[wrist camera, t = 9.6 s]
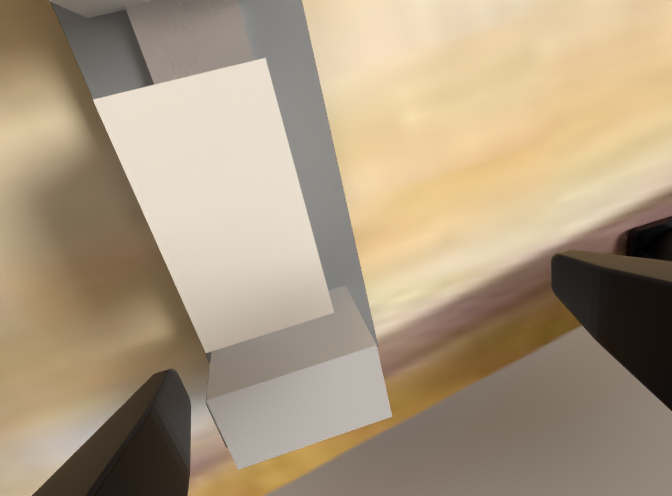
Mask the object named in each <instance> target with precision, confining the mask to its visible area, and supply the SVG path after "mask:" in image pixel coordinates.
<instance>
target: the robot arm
mask: <svg viewBox="0 0 672 496" xmlns="http://www.w3.org/2000/svg"><path fill="white" fill-rule="evenodd" d="M551 286H552V289H553V292H554V293H555V295H556V296H557V297H558V298H559V299H560V301H561V302H562V303H563V304H564V305H565V306H566V307H567V309H568V310H569V311H570V312H571V313H572V314H573V315H574V316H575V318H576V319H577V320H578V321H579V322H580V323H581V324H582V325H583V327H584V328H585V329H586V330H587V331H588V332H589V333H590V334H591V336H592V337H593V338H594V339H595V340H596V341H597V342H598V343H599V344H600V345H601V346H602V347H603V348H604V349H606V351H608V352H609V353H610V354H611V355H612V356H613V357H614V358H615V359H616V360H617V361H618V362H619V363H620V364H622V365H623V366H624V367H625V368H626V369H627V370H628V371H629V372H630V373H631V374H632V375H633V376H634V377H636V378H637V379H638V380H639V381H640V382H641V383H642V384H643V385H644V386H645V387H646V388H647V389H648V390H650V391H651V392H652V393H653V394H654V395H655V396H656V397H657V398H658V399H659V400H660V401H661V402H662V403H664V404H665V405H666V406H667V407H668V408H669V409H670V410H671V411H672V217H670V218H667V219H664V220H661V221H658V222H655V223H651V224H648V225H645V226H642V227H639V228H636V229H634V230H632V231H631V232H630V233H629V235H628V242H627V254H626V256H621V255H613V254H604V253H596V252H587V251H579V250H566V251H563V252H560V253H556V254H554V255H553V257H552V259H551ZM190 443H191V404H190V399H189V396H188V394H187V392H186V390H185V388H184V386H183V383H182V381H181V379H180V377H179V375H178V373H177V372H176V371H175V370H174V369H168V370H165V371H162V372H158V373H155V374H154V375H153V376H152V377H151V378H150V379H149V380H148V381H147V382H146V383H145V384H144V385H143V386H142V387H141V388H140V389H139V390H138V391H136V392H135V393H134V394H133V395H132V396H131V397H130V398H129V399H128V400H127V401H126V402H125V403H124V404H123V405H122V406H121V407H120V408H119V409H118V410H117V411H116V412H115V413H114V414H113V415H112V416H111V417H110V418H109V419H108V420H107V421H106V422H105V423H104V424H103V425H102V426H101V427H100V428H99V429H98V430H97V431H96V432H95V433H94V434H93V435H92V436H91V437H90V438H89V439H88V440H87V441H86V442H85V443H84V444H83V445H82V446H81V447H80V448H79V449H78V450H77V451H76V452H75V453H74V454H73V455H72V456H71V457H70V458H69V459H68V460H67V461H66V462H65V463H64V464H63V465H62V466H61V467H60V468H59V469H58V470H57V471H56V472H55V473H54V474H53V475H52V476H51V477H50V478H49V479H48V480H47V481H46V482H45V483H44V484H43V485H42V486H41V487H40V488H39V489H38V490H37V491H36V492H35V493H34V494H33V495H32V496H187V494H188V487H189V477H190Z"/></svg>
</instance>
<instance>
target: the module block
mask: <svg viewBox="0 0 672 496" xmlns="http://www.w3.org/2000/svg"><path fill="white" fill-rule="evenodd" d="M93 102H94V104H95V106H96V108H97V110H98V113H99V115H100V117H101V119H102V122H103V124H104V126H105V128H106V131H107V133H108V135H109V137H110V140H111V142H112V144H113V146H114V149H115V151H116V153H117V155H118V158H119V160H120V162H121V164H122V167H123V169H124V171H125V173H126V175H127V178H128V180H129V182H130V184H131V187H132V189H133V191H134V193H135V196H136V198H137V200H138V202H139V205H140V207H141V209H142V211H143V214H144V216H145V218H146V220H147V223H148V225H149V227H150V229H151V232H152V234H153V236H154V238H155V241H156V243H157V245H158V247H159V249H160V252H161V254H162V256H163V258H164V261H165V263H166V265H167V267H168V270H169V272H170V274H171V276H172V279H173V281H174V283H175V285H176V288H177V290H178V292H179V294H180V297H181V299H182V301H183V303H184V306H185V308H186V310H187V312H188V314H189V317H190V319H191V321H192V323H193V326H194V328H195V330H196V332H197V335H198V337H199V339H200V341H201V344H202V346H203V348H204V350H205V353H208V352H211V351H215V350H218V349H221V348H224V347H227V346H230V345H234V344H237V343H240V342H243V341H246V340H249V339H253V338H256V337H259V336H262V335H265V334H268V333H272V332H275V331H278V330H281V329H284V328H287V327H291V326H294V325H297V324H300V323H303V322H306V321H310V320H313V319H316V318H319V317H322V316H325V315H329V314H332V313H334V310H333V306H332V302H331V299H330V295H329V291H328V288H327V284H326V280H325V277H324V273H323V269H322V265H321V262H320V258H319V254H318V251H317V247H316V243H315V239H314V236H313V232H312V228H311V225H310V221H309V217H308V214H307V210H306V206H305V202H304V199H303V195H302V191H301V188H300V184H299V180H298V176H297V173H296V169H295V165H294V162H293V158H292V154H291V151H290V147H289V143H288V139H287V136H286V132H285V128H284V125H283V121H282V117H281V113H280V110H279V106H278V102H277V99H276V95H275V91H274V88H273V84H272V80H271V76H270V73H269V69H268V65H267V62H266V58H263V59H258V60H254V61H250V62H246V63H242V64H238V65H234V66H230V67H225V68H221V69H217V70H213V71H209V72H205V73H201V74H197V75H192V76H188V77H184V78H180V79H176V80H172V81H168V82H163V83H159V84H155V85H151V86H147V87H143V88H139V89H135V90H130V91H126V92H122V93H118V94H114V95H110V96H106V97H102V98H97V99H93Z"/></svg>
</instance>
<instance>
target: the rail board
mask: <svg viewBox="0 0 672 496" xmlns="http://www.w3.org/2000/svg"><path fill="white" fill-rule="evenodd" d="M48 1H50V2H51V4H52V7H53V9H54V11H55V13H56V16H57V18H58V20H59V23H60V25H61V27H62V29H63V32H64V34H65V36H66V38H67V41H68V43H69V45H70V47H71V50H72V52H73V54H74V57H75V59H76V61H77V63H78V66H79V68H80V70H81V72H82V75H83V77H84V79H85V82H86V84H87V86H88V88H89V91H90V93H91V95H92V97H93V99H97V98H102V97H106V96H110V95H114V94H118V93H122V92H126V91H130V90H135V89H139V88H143V87H147V86H151V85H155V84H159V83H163V82H168V81H172V80H176V79H180V78H184V77H188V76H192V75H197V74H201V73H205V72H209V71H213V70H217V69H221V68H225V67H230V66H234V65H238V64H242V63H246V62H250V61H254V60H258V59H263V58H266V62H267V65H268V69H269V73H270V76H271V80H272V84H273V88H274V91H275V95H276V99H277V102H278V106H279V110H280V113H281V117H282V121H283V125H284V128H285V132H286V136H287V139H288V143H289V147H290V151H291V154H292V158H293V162H294V165H295V169H296V173H297V176H298V180H299V184H300V188H301V191H302V195H303V199H304V202H305V206H306V210H307V214H308V217H309V221H310V225H311V228H312V232H313V236H314V239H315V243H316V247H317V251H318V254H319V258H320V262H321V265H322V269H323V273H324V277H325V280H326V284H327V288H328V291H329V295H330V299H331V302H332V306H333V310H334V313H332V314H329V315H325V316H322V317H319V318H316V319H313V320H310V321H306V322H303V323H300V324H297V325H294V326H291V327H287V328H284V329H281V330H278V331H275V332H272V333H268V334H265V335H262V336H259V337H256V338H253V339H249V340H246V341H243V342H240V343H237V344H234V345H230V346H227V347H224V348H221V349H218V350H215V351H211V352H208V353H205V354H206V356H207V358H208V361H209V363H210V369H209V378H208V386H207V394H206V405H207V407H208V409H209V411H210V413H211V416H212V418H213V420H214V422H215V424H216V426H217V428H218V430H219V433H220V435H221V437H222V439H223V441H224V443H225V445H226V448H227V447H228V449H229V451H230V453H231V456H232V458H233V460H234V462H235V464H236V466H237V468H238V470H239V469H242V468H245V467H248V466H251V465H254V464H257V463H259V462H262V461H265V460H268V459H271V458H274V457H277V456H280V455H283V454H285V453H288V452H291V451H294V450H297V449H300V448H303V447H306V446H309V445H312V444H314V443H317V442H320V441H323V440H326V439H329V438H332V437H335V436H338V435H340V434H343V433H346V432H349V431H352V430H355V429H358V428H361V427H364V426H366V425H369V424H372V423H375V422H378V421H381V420H384V419H387V418H390V417H392V413H391V408H390V404H389V399H388V395H387V390H386V386H385V381H384V377H383V372H382V368H381V363H380V359H379V354H378V350H377V347H378V344H377V339H376V335H375V330H374V326H373V321H372V317H371V312H370V307H369V303H368V298H367V294H366V289H365V285H364V280H363V276H362V271H361V267H360V262H359V258H358V253H357V249H356V244H355V240H354V235H353V230H352V226H351V221H350V217H349V212H348V208H347V203H346V199H345V194H344V190H343V185H342V181H341V176H340V172H339V167H338V163H337V158H336V153H335V149H334V144H333V140H332V135H331V131H330V126H329V122H328V117H327V113H326V108H325V104H324V99H323V95H322V90H321V86H320V81H319V76H318V72H317V67H316V63H315V58H314V54H313V49H312V45H311V40H310V36H309V31H308V27H307V22H306V18H305V13H304V9H303V4H302V0H48ZM163 259H164V258H163ZM167 268H168V267H167ZM171 277H172V276H171ZM175 286H176V285H175ZM178 293H179V292H178ZM179 295H180V294H179ZM182 302H183V301H182ZM183 304H184V303H183ZM186 311H187V310H186ZM187 313H188V312H187ZM188 315H189V314H188ZM189 318H190V317H189ZM190 320H191V319H190ZM191 322H192V321H191ZM192 324H193V323H192ZM193 327H194V326H193ZM194 329H195V328H194ZM195 331H196V330H195ZM196 333H197V332H196ZM197 336H198V335H197ZM198 338H199V337H198ZM199 340H200V339H199ZM200 342H201V341H200ZM201 345H202V344H201ZM202 347H203V346H202ZM203 349H204V348H203ZM204 352H205V350H204Z"/></svg>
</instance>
